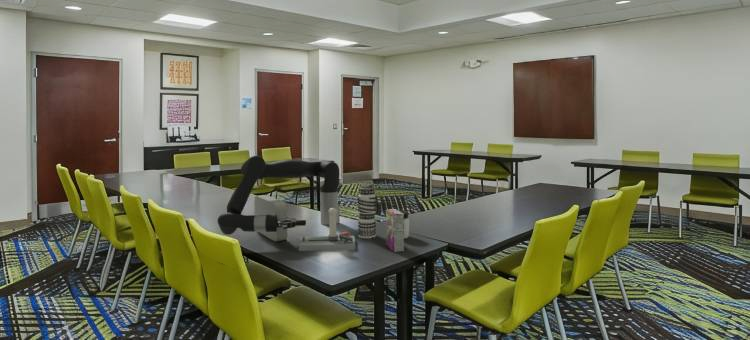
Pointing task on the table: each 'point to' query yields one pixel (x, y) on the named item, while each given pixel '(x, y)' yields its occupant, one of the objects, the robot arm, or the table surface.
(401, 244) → the candy bar box
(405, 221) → the jar
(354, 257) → the table surface
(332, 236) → the slide lever
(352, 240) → the rocker
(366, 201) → the decorative candle
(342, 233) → the button
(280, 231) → the rounded white slab
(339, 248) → the switch console
